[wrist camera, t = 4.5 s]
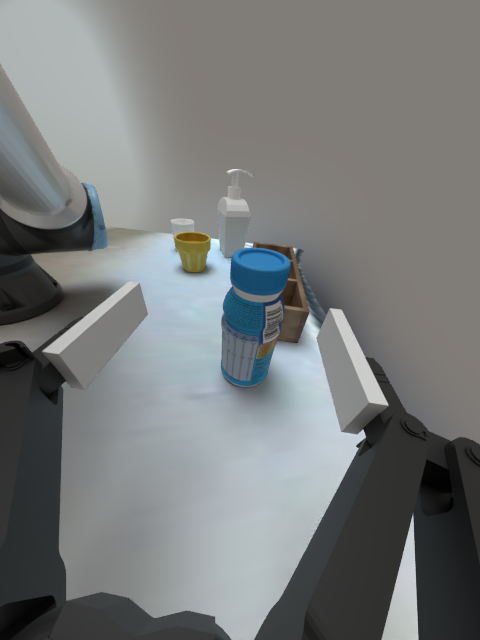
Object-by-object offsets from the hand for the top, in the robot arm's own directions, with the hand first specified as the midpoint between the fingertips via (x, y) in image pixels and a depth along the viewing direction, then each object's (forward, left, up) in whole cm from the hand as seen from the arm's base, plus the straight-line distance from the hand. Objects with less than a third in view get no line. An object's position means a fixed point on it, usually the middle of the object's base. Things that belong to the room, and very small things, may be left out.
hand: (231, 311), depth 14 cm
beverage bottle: (+2, +10, -20) cm, 23 cm away
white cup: (-26, +60, -20) cm, 69 cm away
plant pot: (-18, +46, -20) cm, 54 cm away
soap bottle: (-8, +63, -20) cm, 67 cm away
